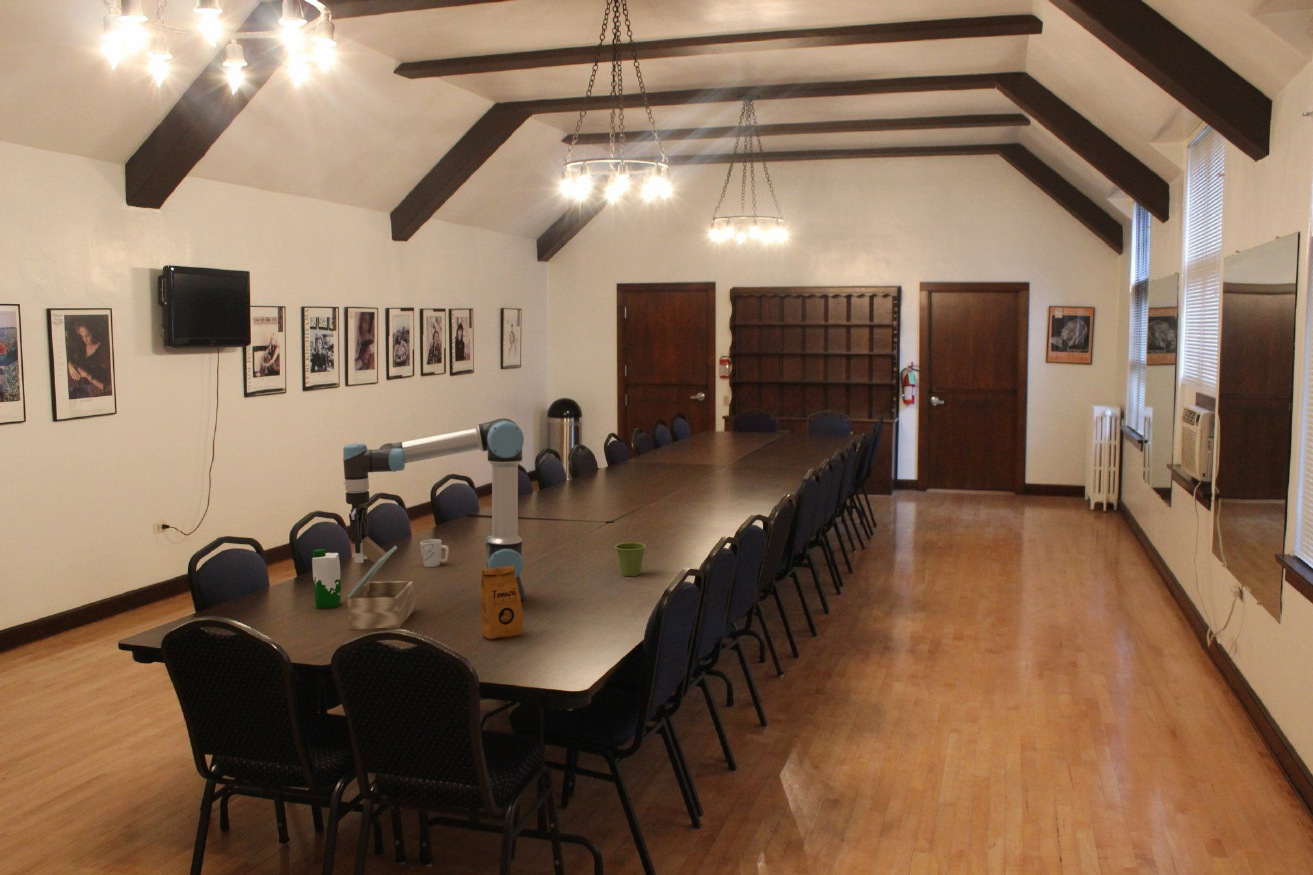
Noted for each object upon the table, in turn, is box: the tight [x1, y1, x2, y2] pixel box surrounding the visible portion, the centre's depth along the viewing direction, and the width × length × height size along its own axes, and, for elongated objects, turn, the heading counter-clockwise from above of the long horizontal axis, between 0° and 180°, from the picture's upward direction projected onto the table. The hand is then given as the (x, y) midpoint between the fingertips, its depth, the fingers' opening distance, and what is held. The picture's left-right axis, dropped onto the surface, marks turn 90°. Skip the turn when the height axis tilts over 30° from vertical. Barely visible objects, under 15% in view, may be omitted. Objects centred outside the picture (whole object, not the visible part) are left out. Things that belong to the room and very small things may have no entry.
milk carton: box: [311, 548, 342, 610], centre depth 366 cm, size 9×9×20 cm
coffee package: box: [479, 566, 524, 640], centre depth 327 cm, size 10×12×22 cm
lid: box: [346, 536, 398, 598], centre depth 347 cm, size 16×21×10 cm
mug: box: [419, 538, 450, 568], centre depth 424 cm, size 11×8×10 cm
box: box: [347, 580, 416, 630], centre depth 348 cm, size 16×22×10 cm
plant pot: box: [614, 542, 647, 577], centre depth 402 cm, size 12×12×11 cm
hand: (361, 560), depth 346 cm, fingers closed on lid, 4 cm apart
